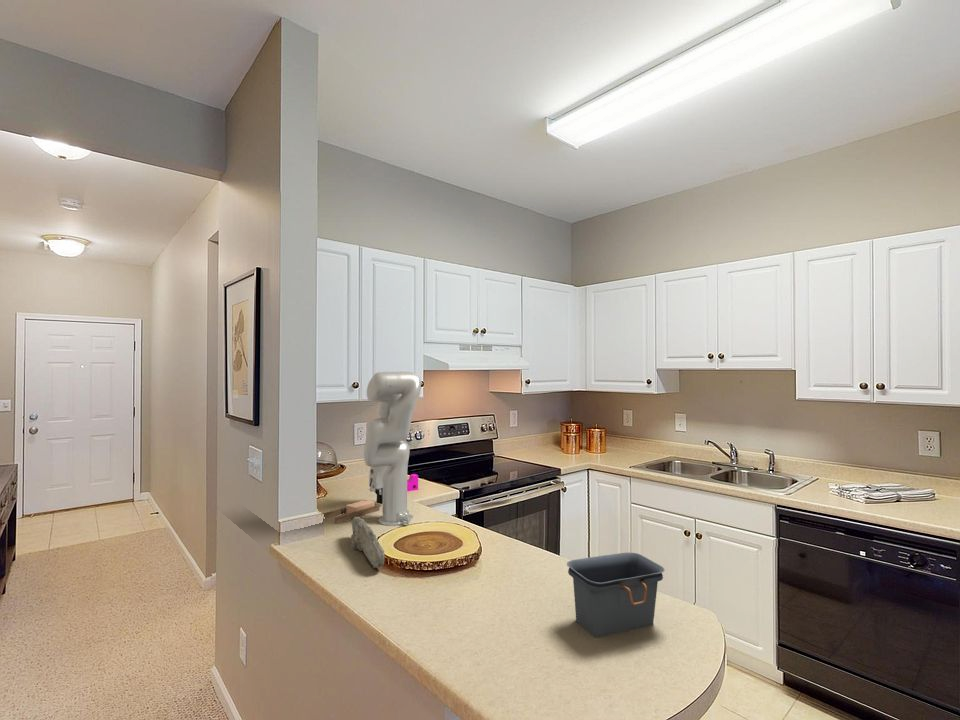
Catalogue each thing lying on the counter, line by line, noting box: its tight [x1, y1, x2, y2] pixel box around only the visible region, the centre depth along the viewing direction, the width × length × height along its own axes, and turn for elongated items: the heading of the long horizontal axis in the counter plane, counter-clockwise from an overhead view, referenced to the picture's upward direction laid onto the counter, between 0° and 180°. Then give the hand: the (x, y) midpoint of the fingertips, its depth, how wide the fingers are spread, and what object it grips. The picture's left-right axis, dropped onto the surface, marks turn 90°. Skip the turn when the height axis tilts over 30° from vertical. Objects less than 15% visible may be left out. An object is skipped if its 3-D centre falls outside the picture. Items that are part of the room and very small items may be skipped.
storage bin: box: [566, 552, 665, 639], centre depth 117 cm, size 21×16×14 cm
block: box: [345, 499, 376, 514], centre depth 206 cm, size 6×10×4 cm, turn 142°
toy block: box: [407, 473, 419, 492], centre depth 240 cm, size 15×6×8 cm, turn 121°
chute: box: [323, 504, 380, 525], centre depth 202 cm, size 10×22×2 cm, turn 143°
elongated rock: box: [350, 516, 385, 569], centre depth 160 cm, size 35×5×10 cm, turn 29°
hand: (380, 502), depth 215 cm, fingers closed
